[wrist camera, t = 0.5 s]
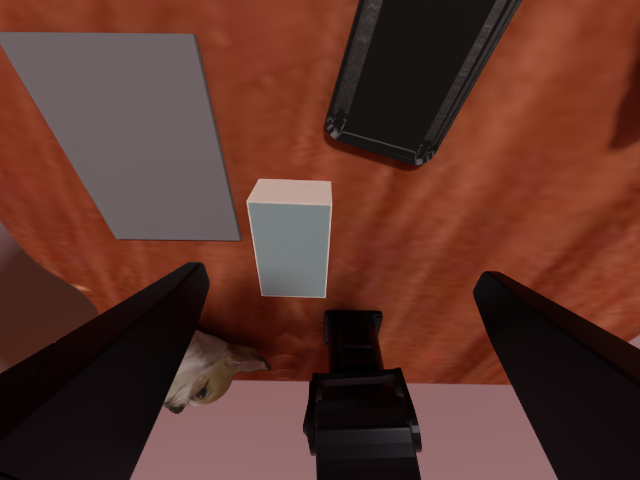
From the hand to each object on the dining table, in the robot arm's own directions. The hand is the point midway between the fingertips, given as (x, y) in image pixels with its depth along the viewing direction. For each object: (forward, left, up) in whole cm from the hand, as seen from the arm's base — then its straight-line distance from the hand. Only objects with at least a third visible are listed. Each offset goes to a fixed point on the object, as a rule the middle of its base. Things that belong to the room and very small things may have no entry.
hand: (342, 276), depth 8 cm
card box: (-6, +3, -12) cm, 14 cm away
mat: (0, +13, -12) cm, 18 cm away
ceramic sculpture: (-23, +15, -12) cm, 30 cm away
